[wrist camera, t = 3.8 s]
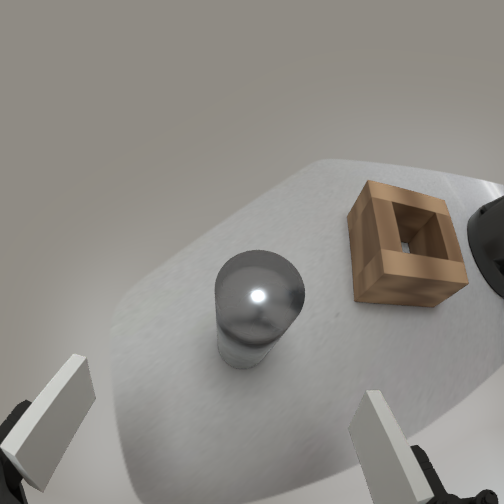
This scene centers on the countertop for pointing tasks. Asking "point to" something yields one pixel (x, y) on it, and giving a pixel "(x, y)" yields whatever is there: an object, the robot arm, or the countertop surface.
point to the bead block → (390, 250)
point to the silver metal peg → (255, 305)
